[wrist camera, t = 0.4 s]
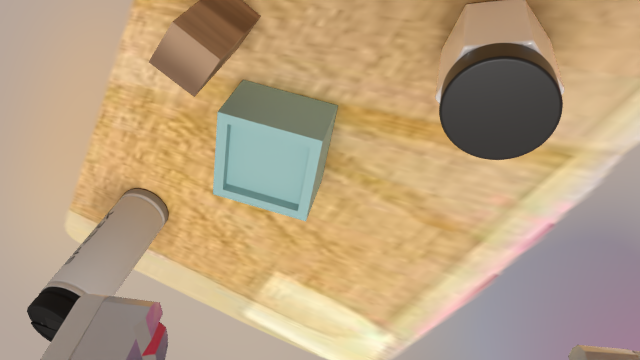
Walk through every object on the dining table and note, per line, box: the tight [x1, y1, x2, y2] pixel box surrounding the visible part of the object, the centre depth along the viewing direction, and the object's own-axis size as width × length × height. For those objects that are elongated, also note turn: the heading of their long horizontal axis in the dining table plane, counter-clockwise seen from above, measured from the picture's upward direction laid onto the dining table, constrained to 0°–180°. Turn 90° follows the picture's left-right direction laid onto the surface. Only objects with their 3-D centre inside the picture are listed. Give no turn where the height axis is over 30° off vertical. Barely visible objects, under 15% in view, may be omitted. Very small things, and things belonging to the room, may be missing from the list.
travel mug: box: [27, 189, 168, 342], centre depth 60 cm, size 6×7×20 cm
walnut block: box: [149, 0, 260, 97], centre depth 46 cm, size 4×4×10 cm
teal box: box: [213, 80, 338, 221], centre depth 54 cm, size 10×10×7 cm
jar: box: [435, 0, 565, 160], centre depth 41 cm, size 9×8×12 cm
